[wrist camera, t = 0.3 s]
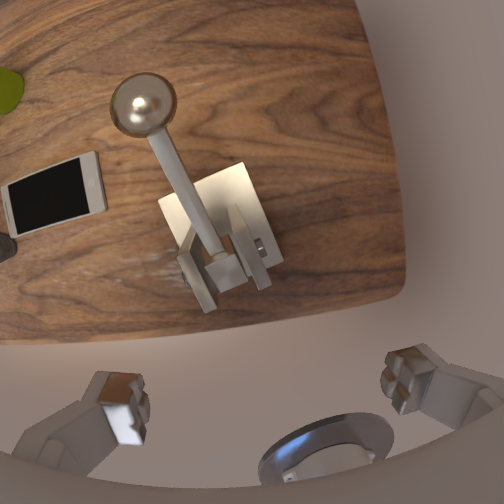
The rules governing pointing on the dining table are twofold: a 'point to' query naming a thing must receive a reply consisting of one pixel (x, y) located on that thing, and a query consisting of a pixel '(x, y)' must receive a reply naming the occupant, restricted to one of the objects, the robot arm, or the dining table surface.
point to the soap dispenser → (10, 90)
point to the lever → (174, 166)
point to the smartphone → (54, 195)
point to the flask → (7, 247)
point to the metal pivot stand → (223, 231)
